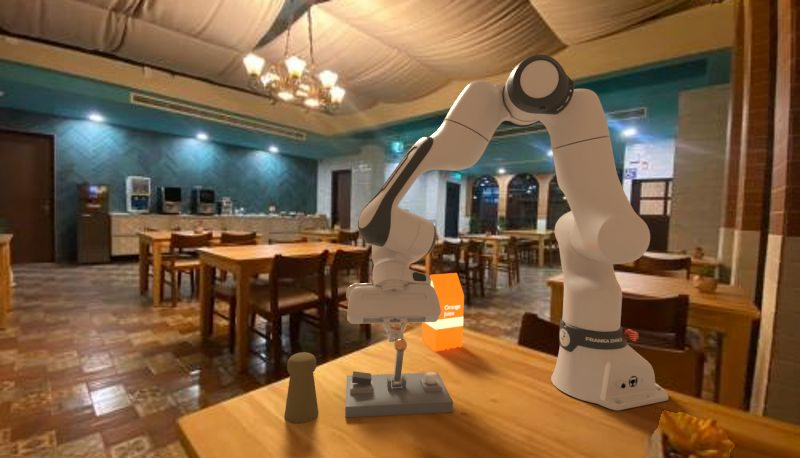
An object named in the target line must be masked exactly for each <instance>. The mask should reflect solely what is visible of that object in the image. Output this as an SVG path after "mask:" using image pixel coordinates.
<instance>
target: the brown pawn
mask: <svg viewBox="0 0 800 458" xmlns="http://www.w3.org/2000/svg"><path fill="white" fill-rule="evenodd" d="M286 369H287V370H286V371H287V372H288V374H289V381H288V390H287V394H286V403H285V411H284V418H285V419H284V420H286V421H287V422H289V423H292V424H303V423H308V422H310V421H312V420H314V419H315V418H316V417H317V416H318V415H319V407H318V406H319V405H318V399H317V392H316V383H315V375H314V372H315V371H316V369H317V359H316V356H315V355H314V354H312V353H310V352H305V351H304V352H297V353H294V354H292V355H290V356H289V359H288V360H287V364H286Z"/></svg>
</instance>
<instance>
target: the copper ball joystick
mask: <svg viewBox="0 0 800 458" xmlns="http://www.w3.org/2000/svg"><path fill="white" fill-rule="evenodd" d="M393 343H394V348H395V350H396V352H395V358H394V359H395V361H394V371H393V372H394V373H393V374H394V376H392V387H401V386H402V378H401V374H402V369H403V361H404V353H405V351H406V350H407V347H408V342H407V340H405V338H404V339H402V338H399V339H397V340H396V341H395V342H393Z"/></svg>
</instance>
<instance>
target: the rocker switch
mask: <svg viewBox="0 0 800 458" xmlns="http://www.w3.org/2000/svg"><path fill="white" fill-rule="evenodd" d="M371 375H372V373H368V372H364V371H362V372H361V371H354V370H353V371H352V375H351V376H352V383H357V384H365V385H370V384H371Z"/></svg>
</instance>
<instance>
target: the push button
mask: <svg viewBox="0 0 800 458" xmlns="http://www.w3.org/2000/svg"><path fill="white" fill-rule="evenodd" d="M424 373H425V379H424V381H425V383H427V384H436V383H437V372H434V371H425V372H424Z"/></svg>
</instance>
